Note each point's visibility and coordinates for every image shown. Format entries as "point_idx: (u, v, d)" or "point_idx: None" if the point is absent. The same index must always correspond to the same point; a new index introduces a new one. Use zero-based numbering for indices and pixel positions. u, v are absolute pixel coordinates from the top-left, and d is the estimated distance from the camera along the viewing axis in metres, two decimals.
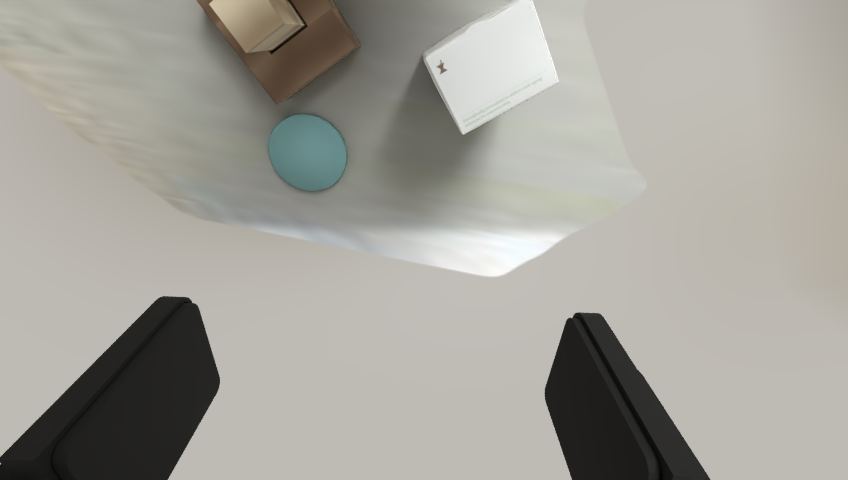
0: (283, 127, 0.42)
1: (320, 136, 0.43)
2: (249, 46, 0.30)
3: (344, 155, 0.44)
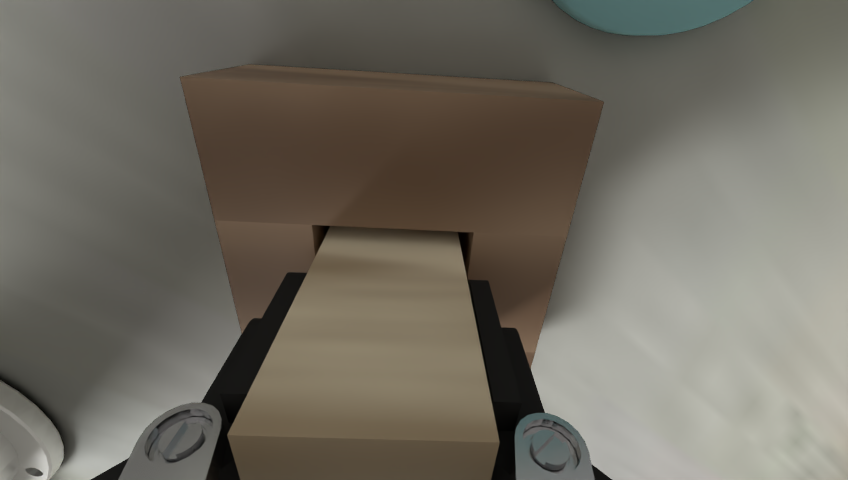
0: (656, 12, 0.11)
1: None
2: (460, 451, 0.06)
3: None
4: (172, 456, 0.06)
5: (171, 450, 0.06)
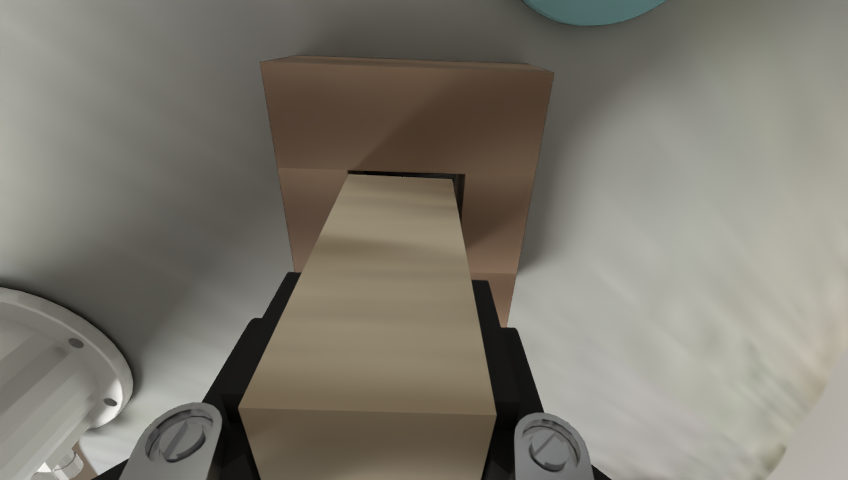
0: (598, 7, 0.14)
1: None
2: (459, 423, 0.06)
3: None
4: (173, 456, 0.06)
5: (172, 450, 0.06)
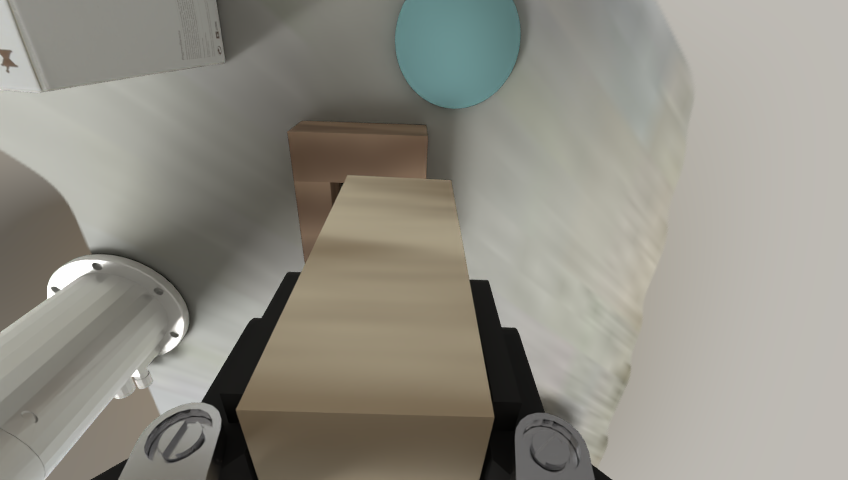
0: (456, 100, 0.29)
1: (419, 55, 0.27)
2: (457, 425, 0.06)
3: (407, 1, 0.25)
4: (172, 456, 0.06)
5: (171, 450, 0.06)
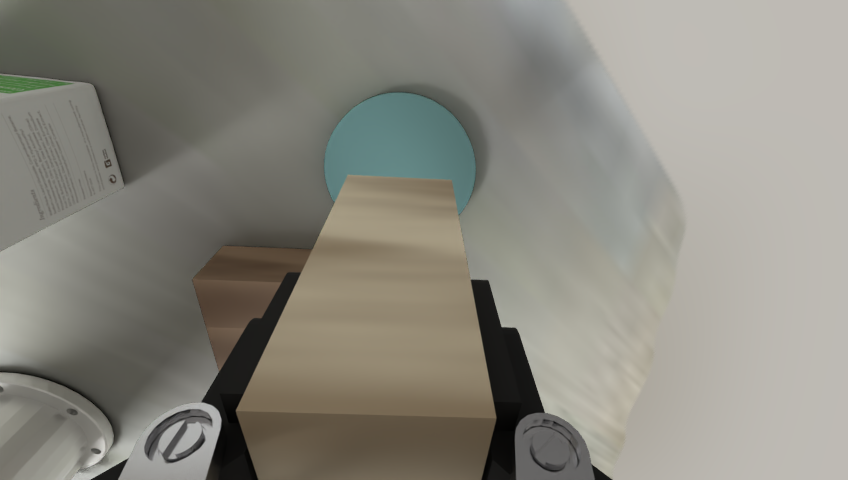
0: None
1: None
2: (458, 426, 0.06)
3: (335, 131, 0.21)
4: (172, 456, 0.06)
5: (171, 450, 0.06)
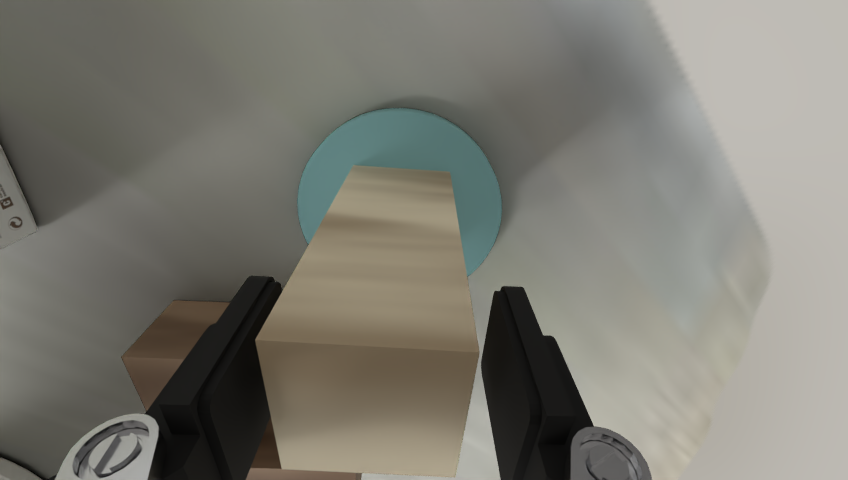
0: None
1: None
2: (446, 360, 0.07)
3: (311, 161, 0.15)
4: (105, 470, 0.06)
5: (104, 465, 0.06)
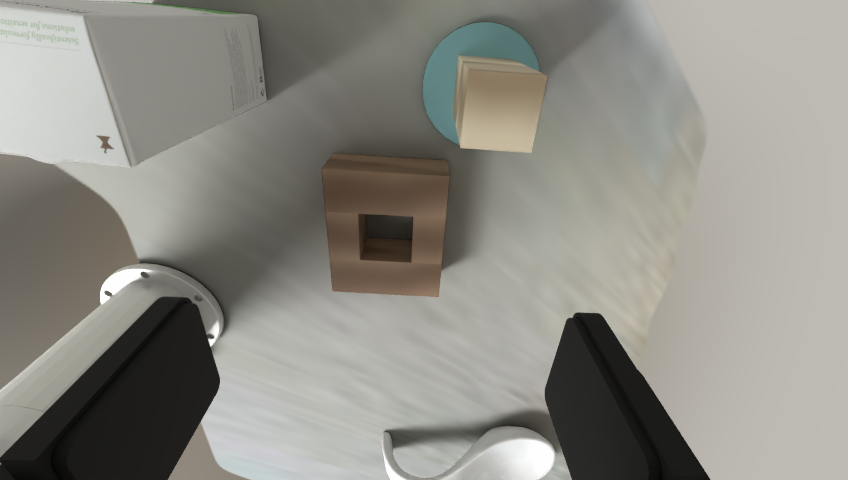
0: None
1: (445, 99, 0.29)
2: (535, 80, 0.19)
3: (435, 53, 0.27)
4: None
5: None
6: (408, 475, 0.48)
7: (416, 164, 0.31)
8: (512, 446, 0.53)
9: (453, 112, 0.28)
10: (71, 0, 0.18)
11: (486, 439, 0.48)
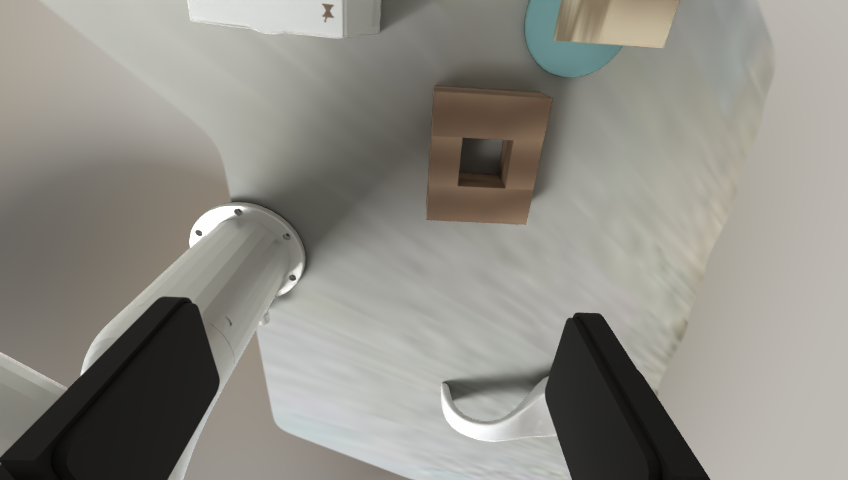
0: (571, 70, 0.33)
1: (547, 29, 0.32)
2: None
3: None
4: None
5: None
6: (472, 419, 0.50)
7: (515, 92, 0.34)
8: None
9: (557, 38, 0.31)
10: None
11: (545, 383, 0.51)
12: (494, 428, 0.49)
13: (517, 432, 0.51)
